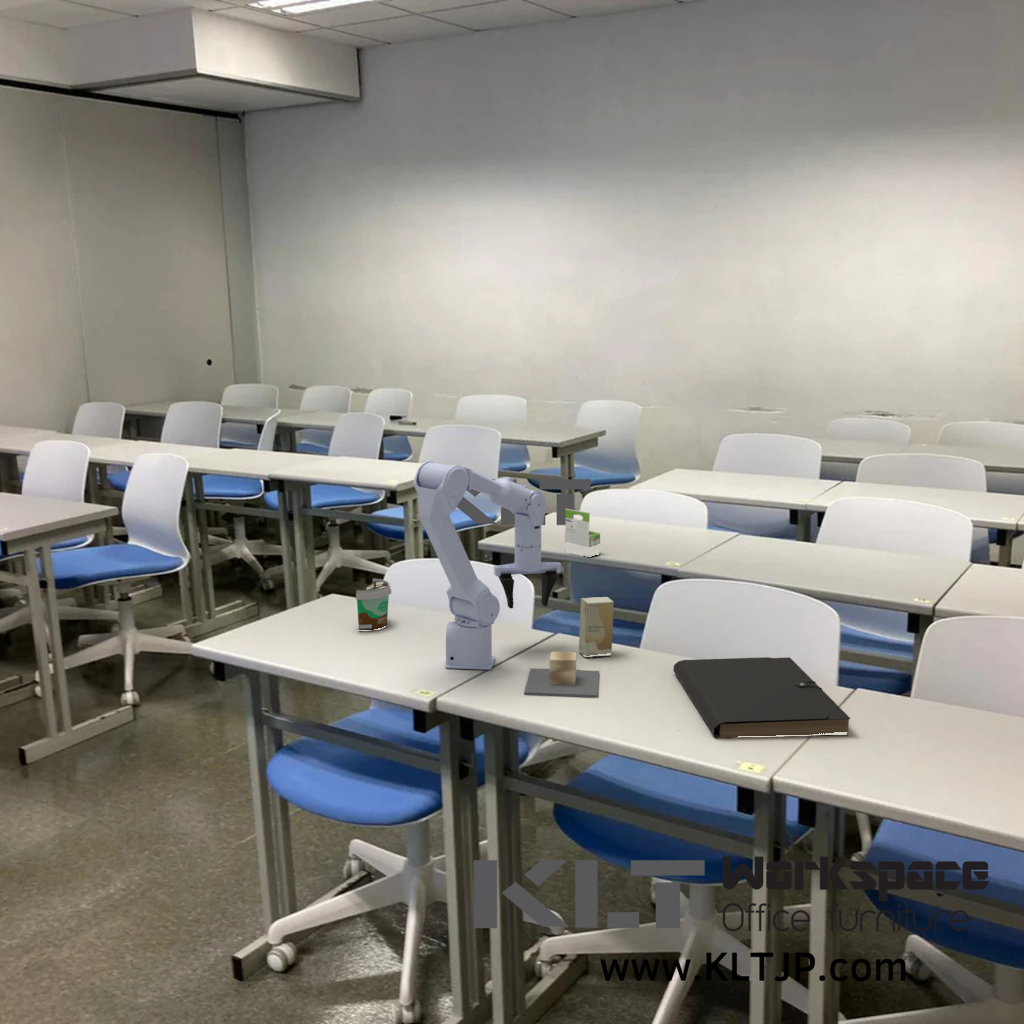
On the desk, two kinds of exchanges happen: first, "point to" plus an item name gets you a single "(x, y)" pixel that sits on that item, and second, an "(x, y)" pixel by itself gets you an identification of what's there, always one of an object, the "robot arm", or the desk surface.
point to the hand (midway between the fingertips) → (527, 606)
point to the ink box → (580, 530)
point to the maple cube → (563, 668)
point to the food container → (373, 605)
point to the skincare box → (596, 626)
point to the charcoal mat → (583, 685)
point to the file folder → (759, 697)
